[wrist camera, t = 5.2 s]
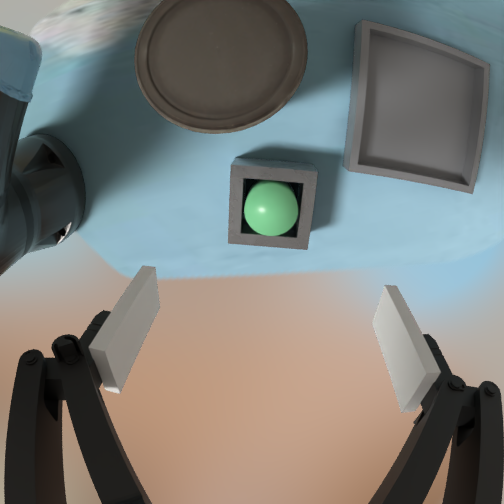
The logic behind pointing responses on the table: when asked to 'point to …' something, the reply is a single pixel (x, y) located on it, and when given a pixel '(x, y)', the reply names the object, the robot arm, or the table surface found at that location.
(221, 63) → the coffee can
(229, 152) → the table surface
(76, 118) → the table surface
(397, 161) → the shallow gray tray
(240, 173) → the button housing
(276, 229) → the button
